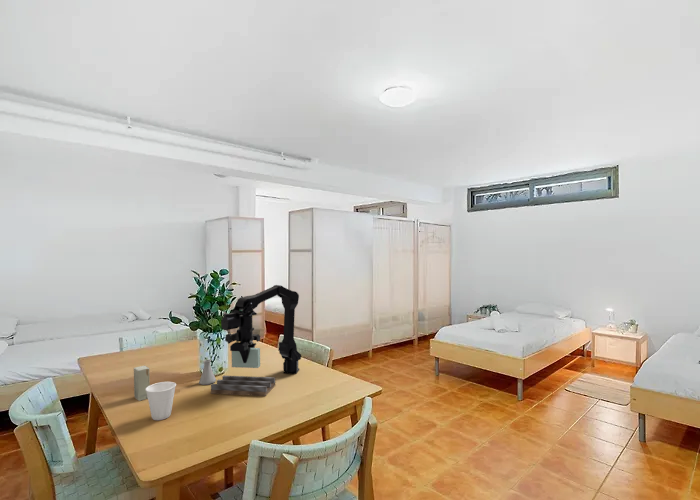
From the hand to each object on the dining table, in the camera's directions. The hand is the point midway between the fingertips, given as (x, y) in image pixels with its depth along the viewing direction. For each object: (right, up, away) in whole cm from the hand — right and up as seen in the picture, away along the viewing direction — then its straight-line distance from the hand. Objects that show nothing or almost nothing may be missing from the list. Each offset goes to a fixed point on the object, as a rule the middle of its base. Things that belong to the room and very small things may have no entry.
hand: (246, 361), depth 160 cm
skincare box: (-40, -12, -11) cm, 43 cm away
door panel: (0, -2, 0) cm, 2 cm away
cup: (-23, -12, -28) cm, 38 cm away
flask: (-19, -11, +6) cm, 23 cm away
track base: (0, -11, -3) cm, 11 cm away
